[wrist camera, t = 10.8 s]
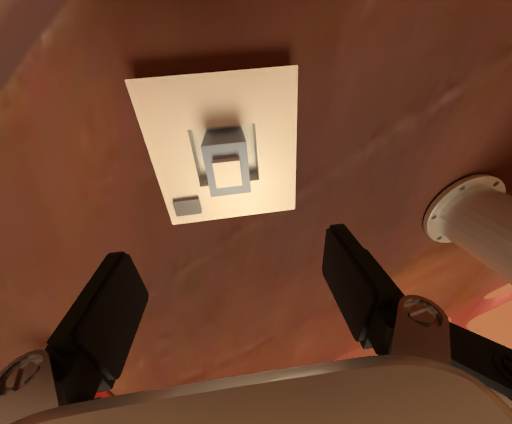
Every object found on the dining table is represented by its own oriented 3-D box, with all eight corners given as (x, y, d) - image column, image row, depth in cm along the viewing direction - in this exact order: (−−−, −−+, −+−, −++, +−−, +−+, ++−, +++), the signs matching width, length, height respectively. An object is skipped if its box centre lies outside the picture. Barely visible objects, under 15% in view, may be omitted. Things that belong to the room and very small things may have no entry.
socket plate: (290, 66, 23) (299, 64, 20) (289, 198, 32) (296, 211, 29) (135, 79, 22) (121, 79, 19) (177, 212, 31) (171, 227, 28)
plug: (241, 126, 25) (247, 144, 19) (245, 168, 28) (252, 196, 21) (206, 130, 25) (199, 149, 18) (213, 171, 28) (210, 201, 21)
